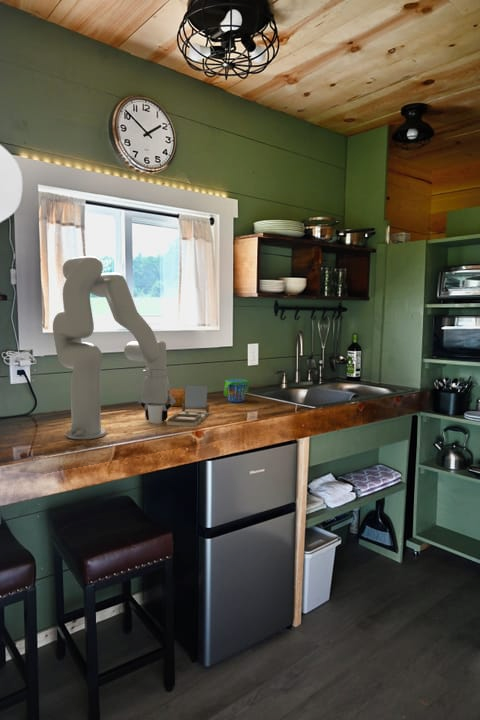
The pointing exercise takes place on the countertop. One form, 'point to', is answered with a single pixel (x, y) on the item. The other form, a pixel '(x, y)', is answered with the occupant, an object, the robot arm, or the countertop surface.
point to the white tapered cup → (155, 413)
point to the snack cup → (236, 389)
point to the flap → (196, 397)
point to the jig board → (188, 417)
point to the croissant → (178, 396)
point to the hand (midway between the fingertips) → (156, 419)
